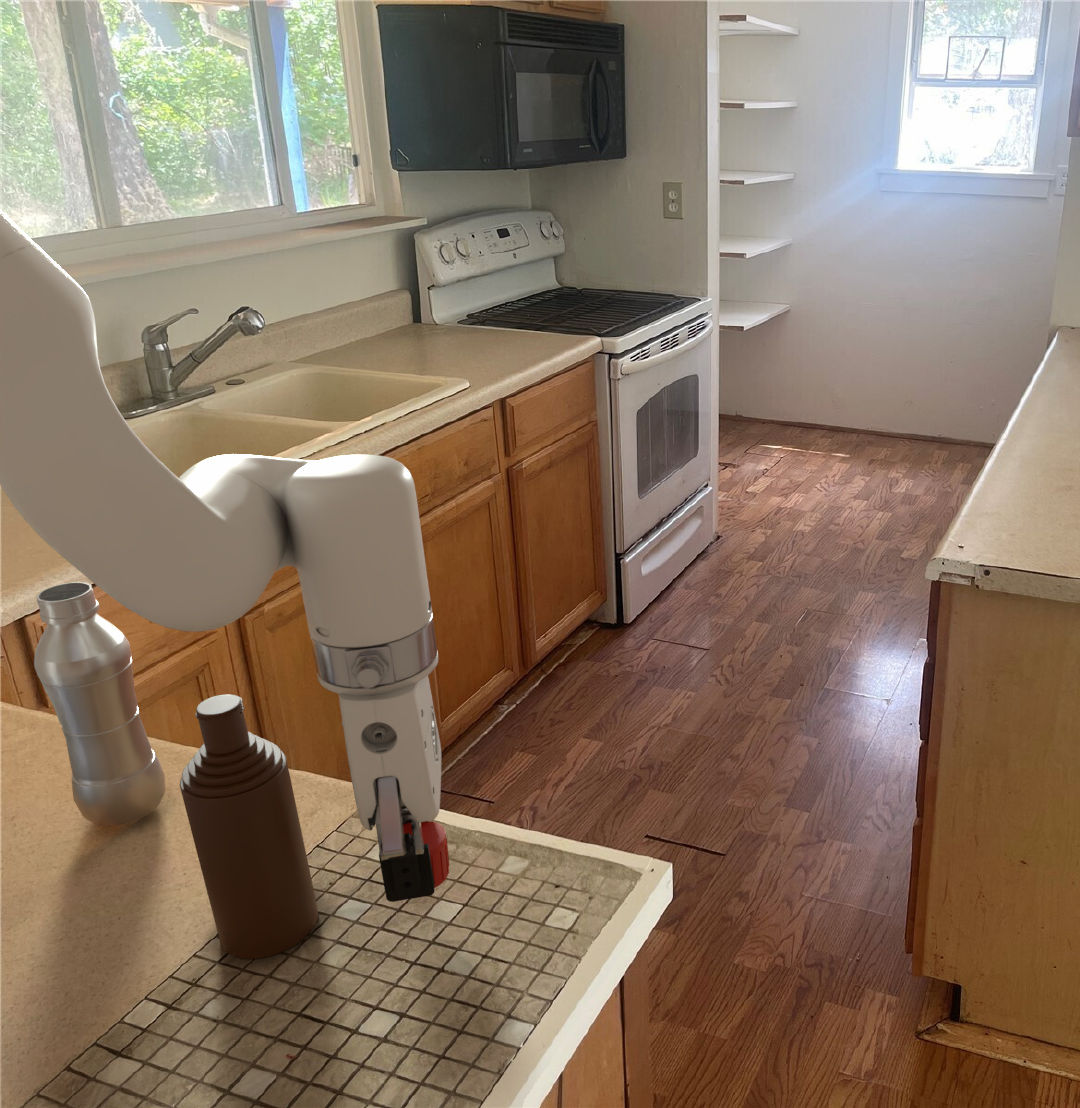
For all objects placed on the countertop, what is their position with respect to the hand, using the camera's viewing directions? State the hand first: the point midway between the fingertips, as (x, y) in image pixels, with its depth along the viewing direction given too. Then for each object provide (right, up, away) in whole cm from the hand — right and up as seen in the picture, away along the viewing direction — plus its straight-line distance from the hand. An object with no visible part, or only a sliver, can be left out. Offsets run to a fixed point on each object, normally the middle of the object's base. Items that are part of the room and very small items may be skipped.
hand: (412, 872), depth 74 cm
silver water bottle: (-27, +1, +11) cm, 29 cm away
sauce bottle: (-10, -3, -1) cm, 10 cm away
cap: (0, 0, 0) cm, 1 cm away
